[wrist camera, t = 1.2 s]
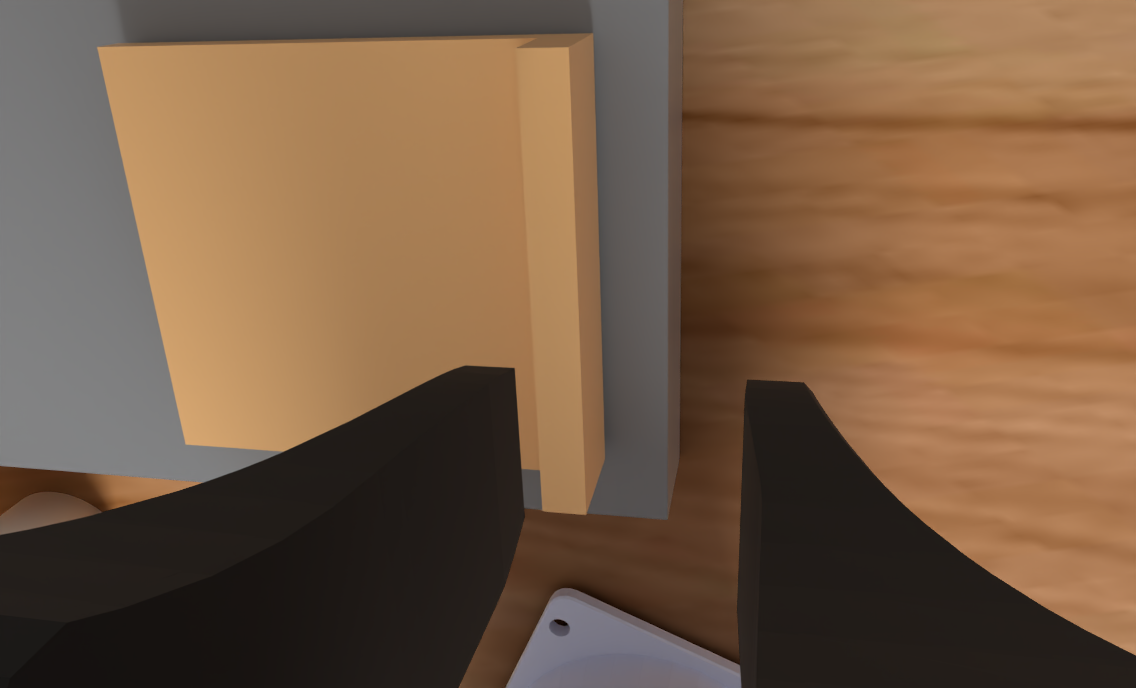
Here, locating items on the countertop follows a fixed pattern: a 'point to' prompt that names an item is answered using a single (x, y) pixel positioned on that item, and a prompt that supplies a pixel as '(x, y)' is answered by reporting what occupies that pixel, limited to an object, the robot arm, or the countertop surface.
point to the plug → (44, 511)
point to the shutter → (370, 231)
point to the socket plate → (118, 271)
